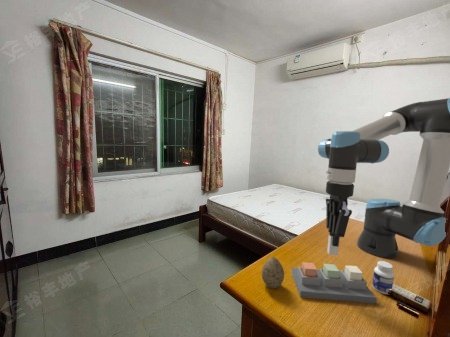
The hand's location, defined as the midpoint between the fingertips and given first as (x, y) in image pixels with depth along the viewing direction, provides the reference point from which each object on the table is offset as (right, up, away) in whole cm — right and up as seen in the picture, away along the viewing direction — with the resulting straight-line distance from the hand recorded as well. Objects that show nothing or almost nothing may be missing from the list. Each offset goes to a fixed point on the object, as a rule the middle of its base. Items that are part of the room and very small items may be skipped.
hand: (332, 253), depth 68 cm
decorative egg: (-19, -11, +1) cm, 22 cm away
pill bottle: (+17, -12, +1) cm, 21 cm away
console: (0, -12, +2) cm, 12 cm away
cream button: (+7, -8, +1) cm, 11 cm away
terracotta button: (-7, -7, +2) cm, 10 cm away
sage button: (0, -8, +1) cm, 8 cm away
